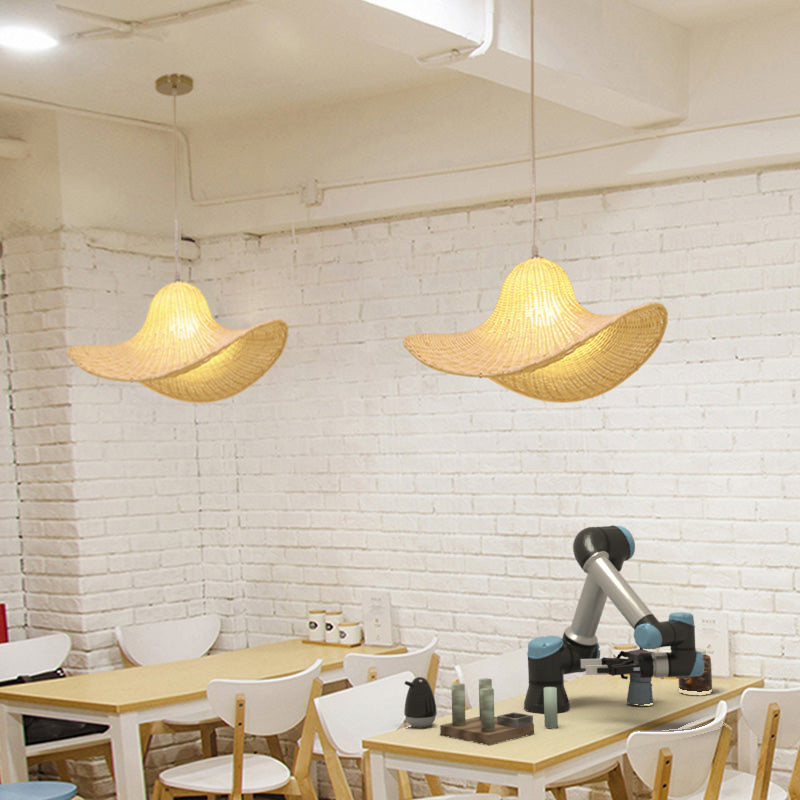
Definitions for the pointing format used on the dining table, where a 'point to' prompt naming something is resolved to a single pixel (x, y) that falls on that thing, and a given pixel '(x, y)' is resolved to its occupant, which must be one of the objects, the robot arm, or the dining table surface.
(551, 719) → the green leg
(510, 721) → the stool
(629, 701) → the moka pot
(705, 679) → the jar
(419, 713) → the pump dispenser
